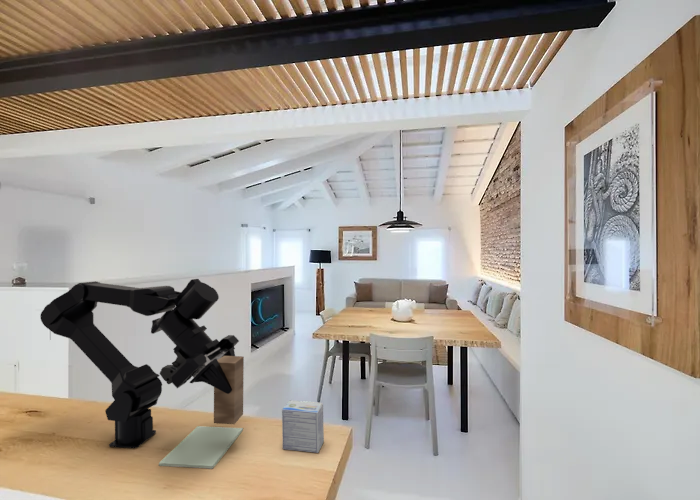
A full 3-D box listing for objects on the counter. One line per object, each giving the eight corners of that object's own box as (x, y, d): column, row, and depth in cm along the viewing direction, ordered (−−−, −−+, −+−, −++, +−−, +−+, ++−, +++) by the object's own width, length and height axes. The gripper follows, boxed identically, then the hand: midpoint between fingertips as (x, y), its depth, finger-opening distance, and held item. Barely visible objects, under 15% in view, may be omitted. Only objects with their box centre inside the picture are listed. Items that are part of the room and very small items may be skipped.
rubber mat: (158, 465, 67) (158, 463, 67) (197, 428, 81) (197, 426, 81) (212, 468, 66) (212, 466, 66) (242, 430, 80) (242, 428, 80)
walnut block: (213, 423, 70) (214, 362, 70) (223, 413, 75) (224, 355, 75) (234, 424, 70) (234, 363, 70) (243, 414, 74) (243, 356, 74)
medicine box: (324, 442, 74) (323, 402, 74) (318, 454, 70) (317, 411, 70) (289, 438, 76) (289, 399, 76) (281, 450, 72) (281, 408, 72)
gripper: (185, 346, 83) (228, 394, 82) (128, 375, 64) (183, 437, 63) (216, 315, 82) (261, 363, 81) (168, 334, 64) (225, 396, 63)
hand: (235, 387), depth 72 cm, fingers closed on walnut block, 4 cm apart
